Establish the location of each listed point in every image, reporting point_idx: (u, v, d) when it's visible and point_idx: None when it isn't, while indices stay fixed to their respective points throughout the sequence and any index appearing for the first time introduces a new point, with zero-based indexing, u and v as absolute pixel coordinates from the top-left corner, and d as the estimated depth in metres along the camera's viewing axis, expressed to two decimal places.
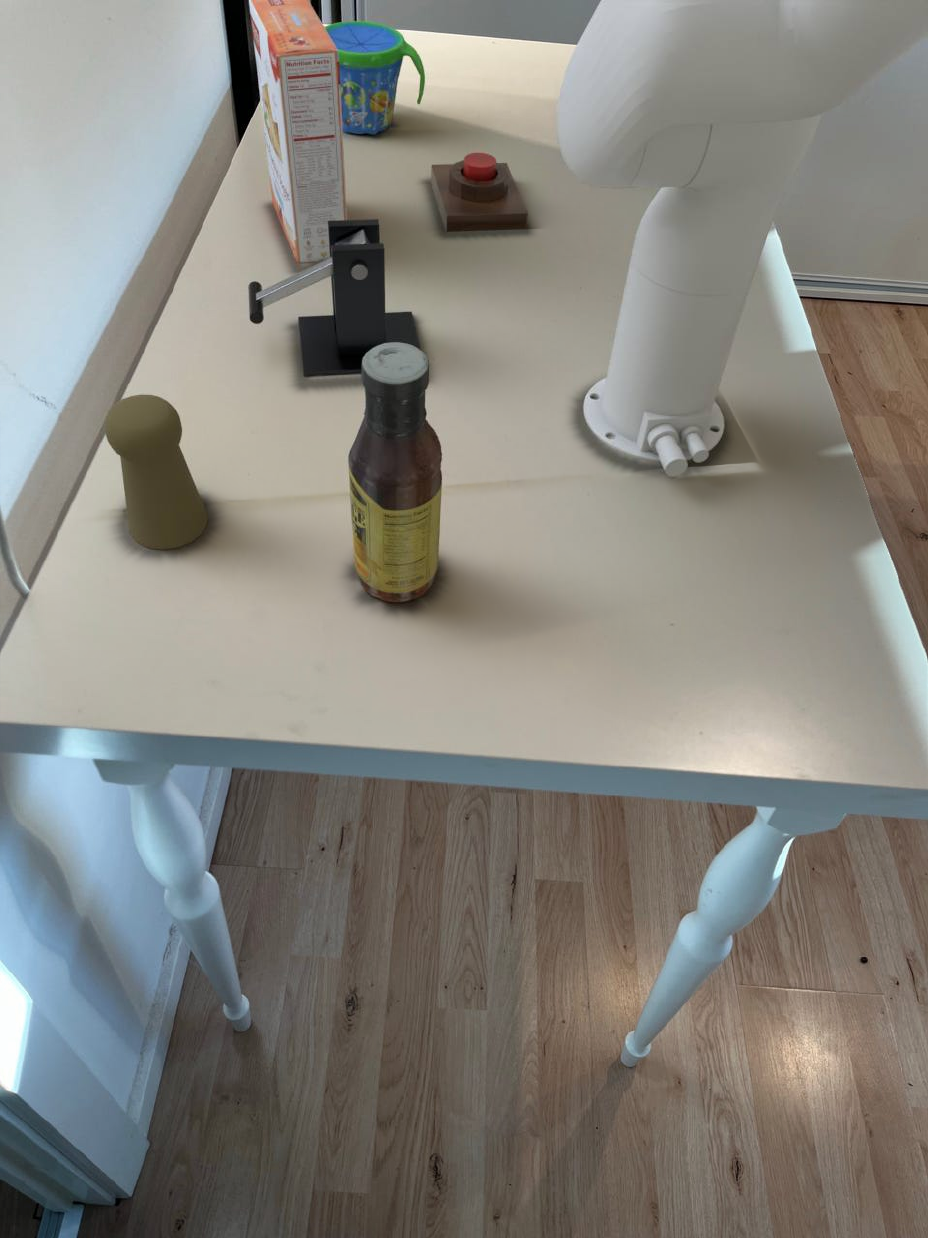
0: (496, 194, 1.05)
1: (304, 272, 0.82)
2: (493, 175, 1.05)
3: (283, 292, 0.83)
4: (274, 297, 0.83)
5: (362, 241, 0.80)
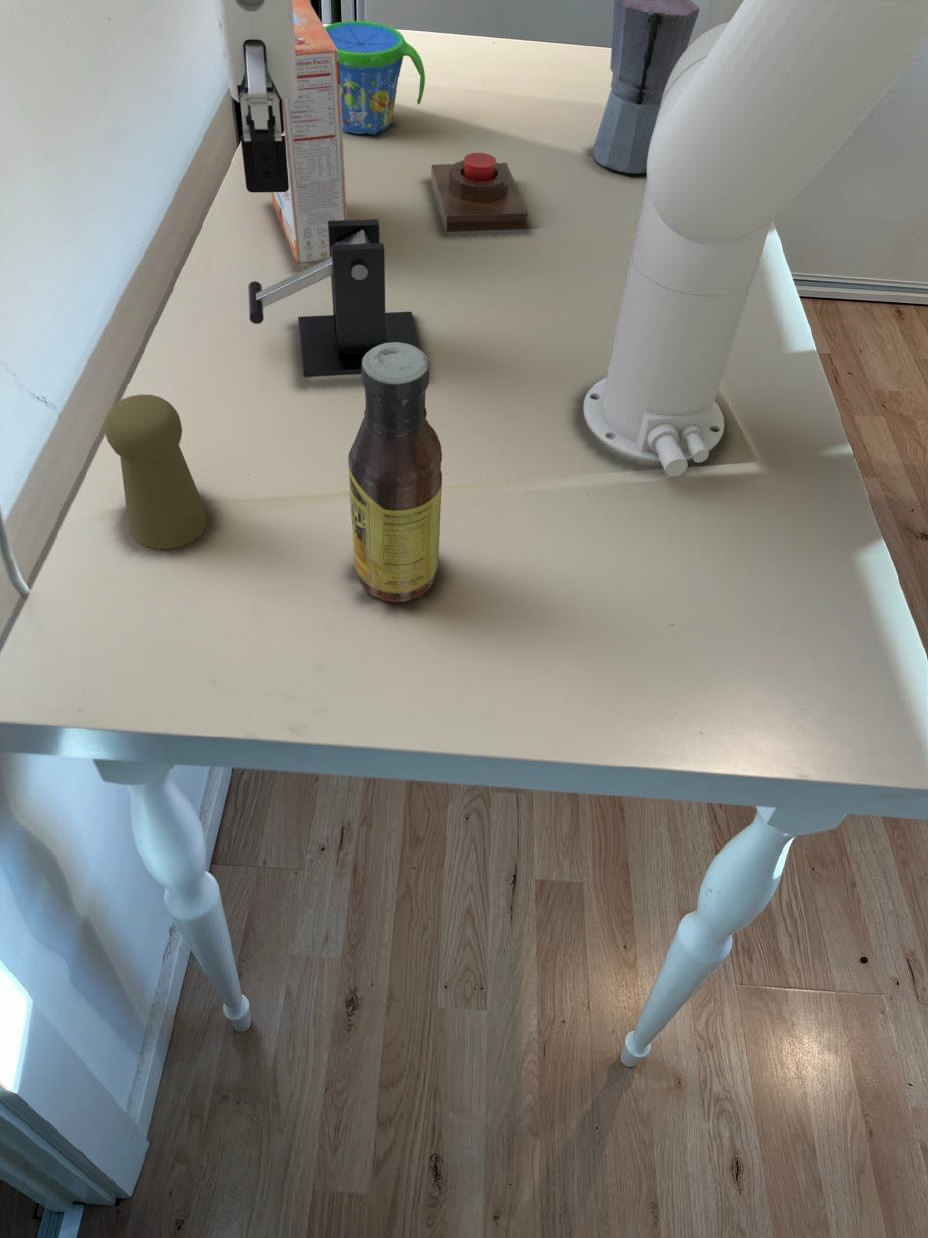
0: (496, 194, 1.05)
1: (304, 272, 0.82)
2: (493, 175, 1.05)
3: (283, 292, 0.83)
4: (274, 297, 0.83)
5: (362, 241, 0.80)
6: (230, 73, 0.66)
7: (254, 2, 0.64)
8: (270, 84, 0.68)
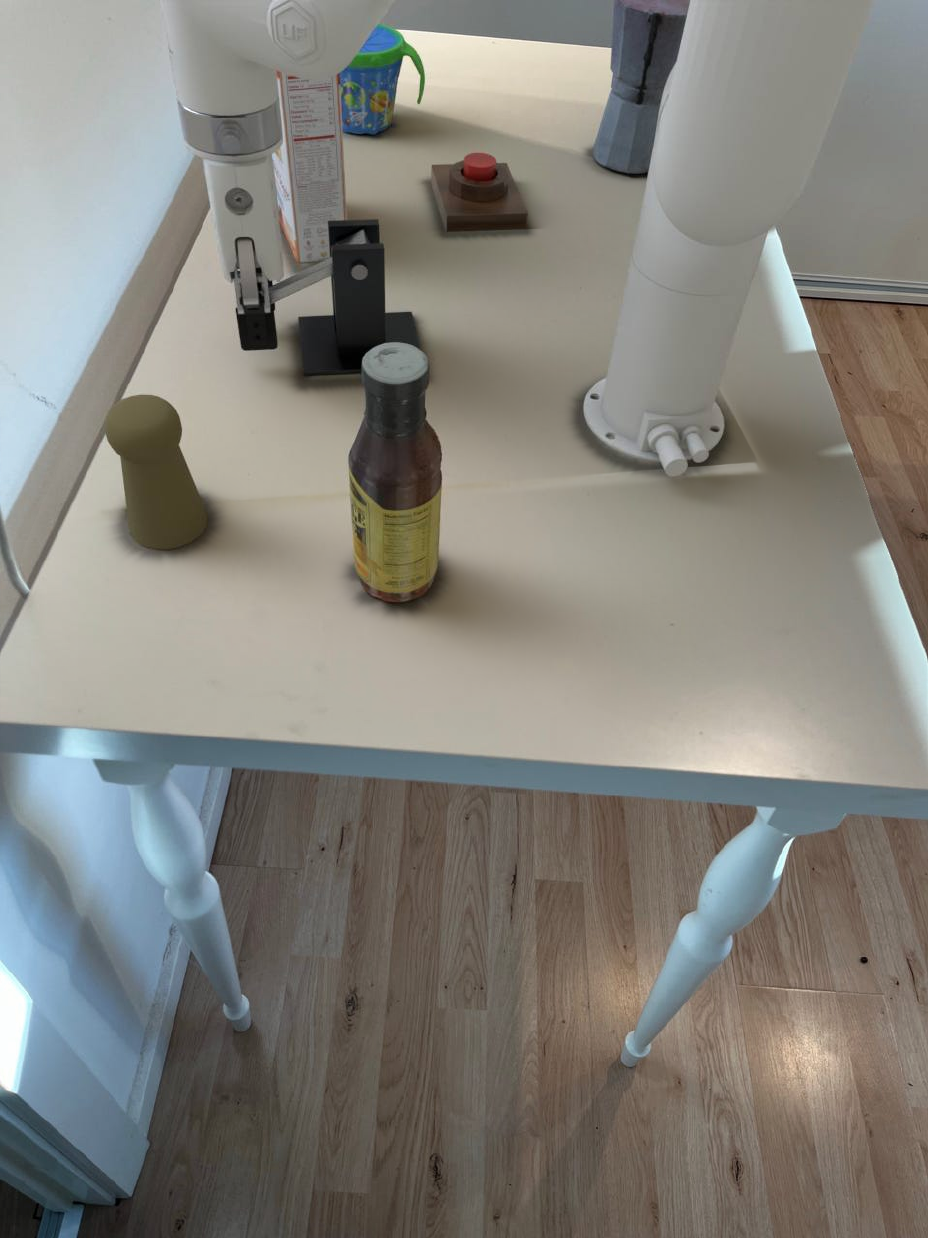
0: (496, 194, 1.05)
1: (304, 272, 0.82)
2: (493, 175, 1.05)
3: (283, 292, 0.83)
4: (274, 297, 0.83)
5: (362, 241, 0.80)
6: (224, 263, 0.75)
7: (243, 206, 0.73)
8: (259, 266, 0.78)
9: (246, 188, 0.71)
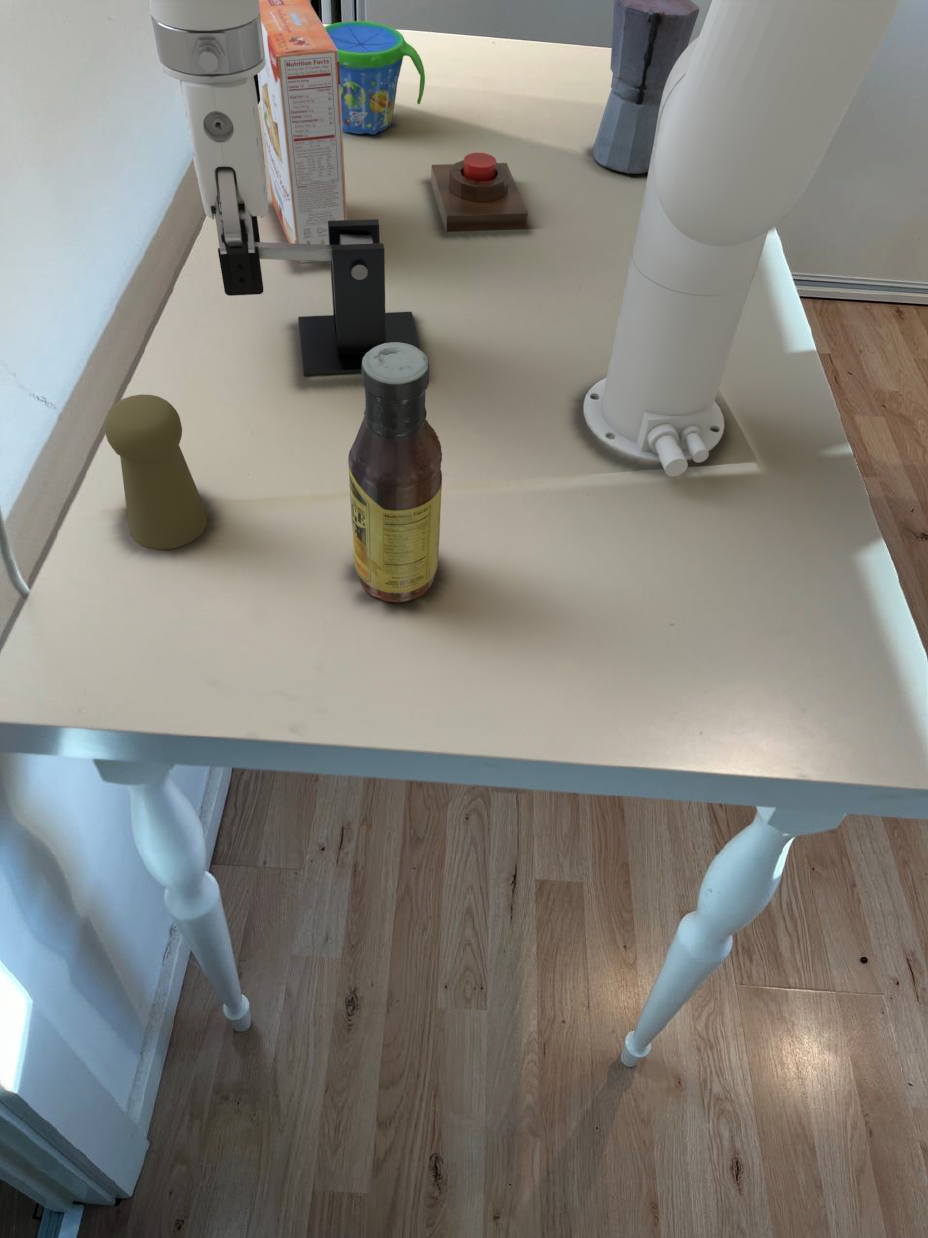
0: (496, 194, 1.05)
1: (300, 246, 0.80)
2: (493, 175, 1.05)
3: (271, 254, 0.80)
4: (260, 254, 0.80)
5: None
6: (204, 196, 0.71)
7: (224, 133, 0.69)
8: (242, 201, 0.73)
9: (226, 112, 0.67)
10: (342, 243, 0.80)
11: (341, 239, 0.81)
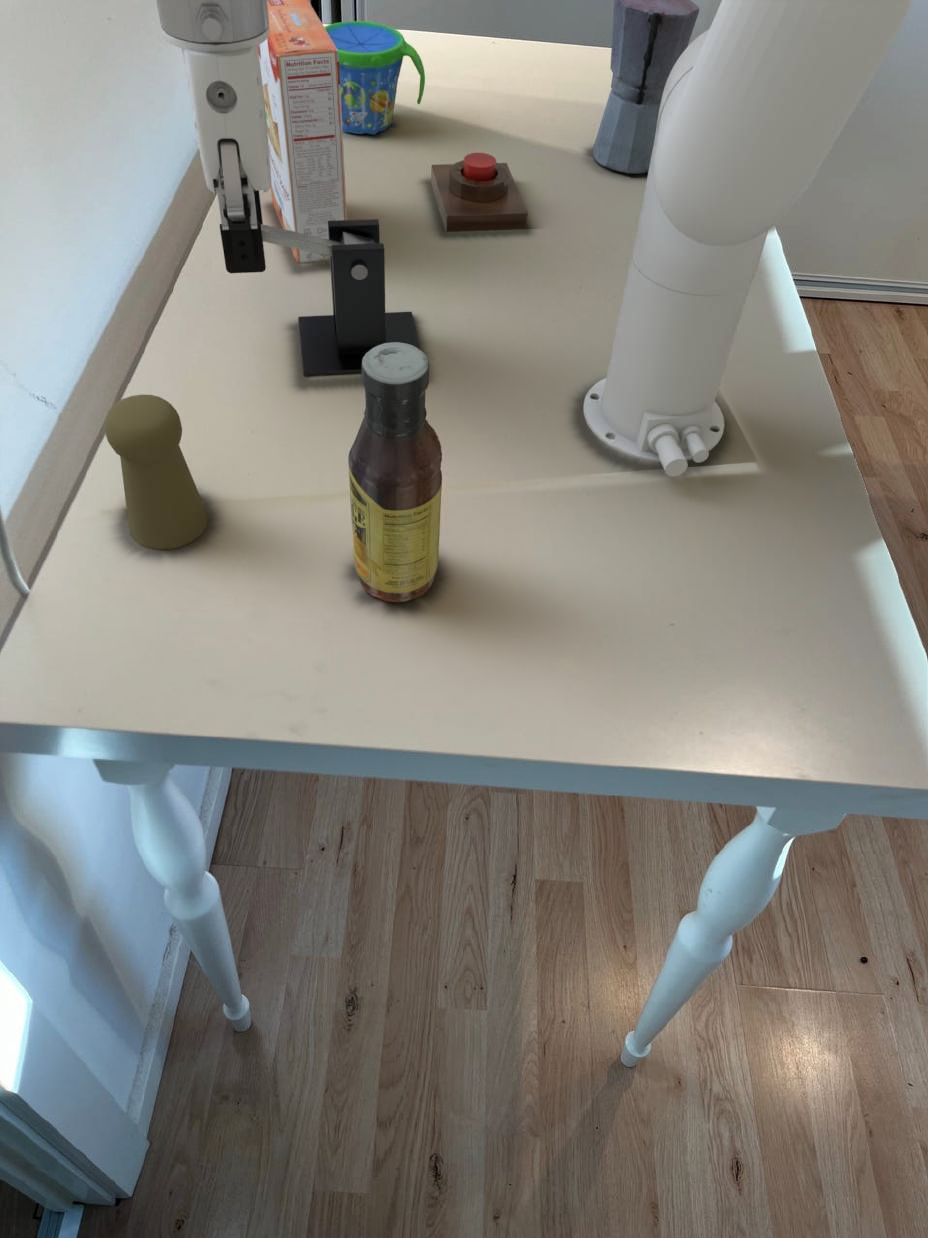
0: (496, 194, 1.05)
1: (302, 235, 0.80)
2: (493, 175, 1.05)
3: (273, 238, 0.79)
4: None
5: None
6: (206, 169, 0.69)
7: (227, 104, 0.67)
8: (244, 175, 0.72)
9: (229, 81, 0.65)
10: (345, 241, 0.80)
11: (344, 237, 0.80)
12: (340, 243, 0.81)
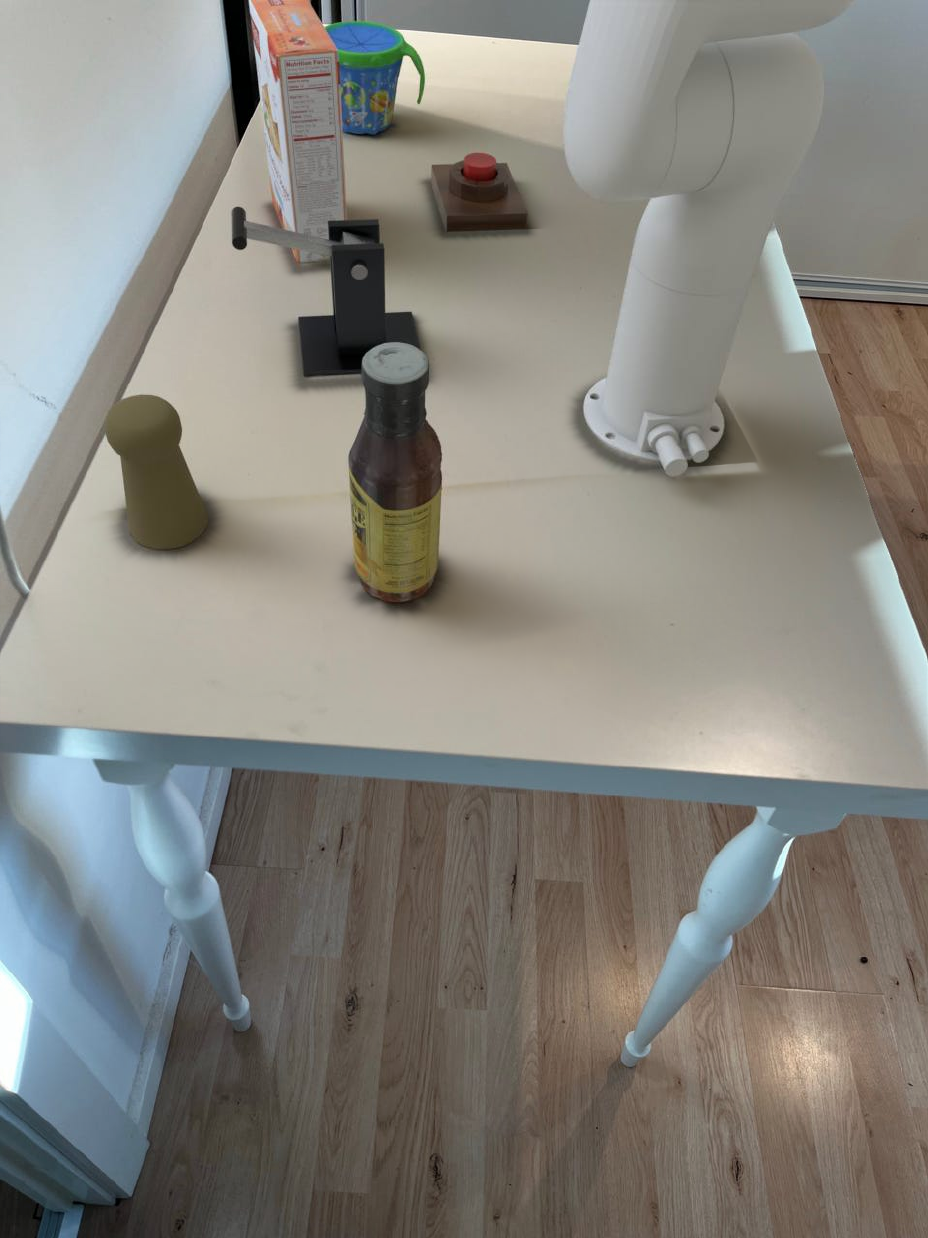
0: (496, 194, 1.05)
1: (302, 235, 0.80)
2: (493, 175, 1.05)
3: (272, 238, 0.79)
4: (261, 236, 0.78)
5: None
6: None
7: None
8: None
9: None
10: (345, 241, 0.80)
11: (344, 237, 0.80)
12: (340, 243, 0.81)
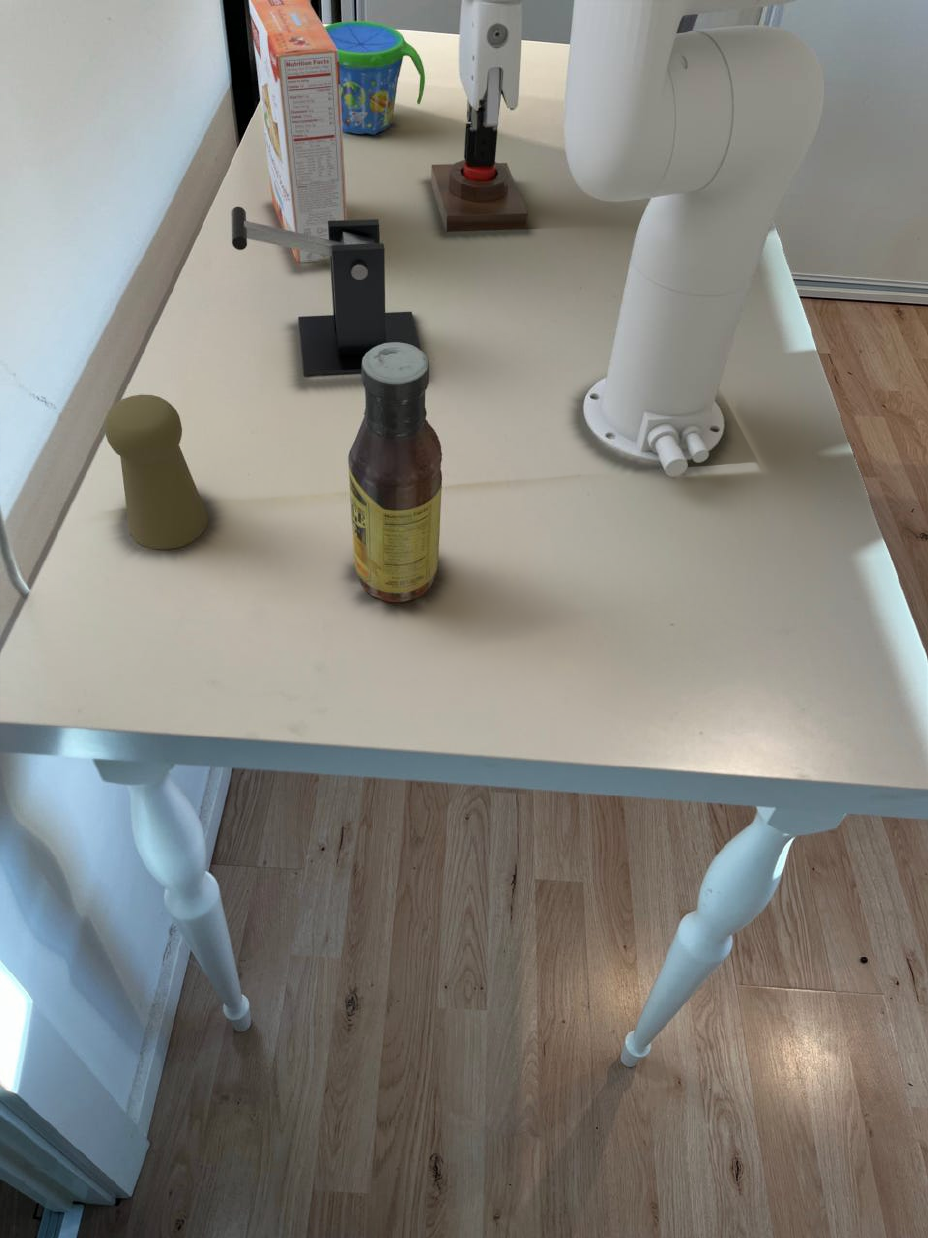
0: (496, 194, 1.05)
1: (302, 235, 0.80)
2: None
3: (272, 238, 0.79)
4: (261, 236, 0.78)
5: None
6: (475, 91, 0.94)
7: (497, 41, 0.92)
8: None
9: (505, 24, 0.90)
10: (345, 241, 0.80)
11: (344, 237, 0.80)
12: (340, 243, 0.81)
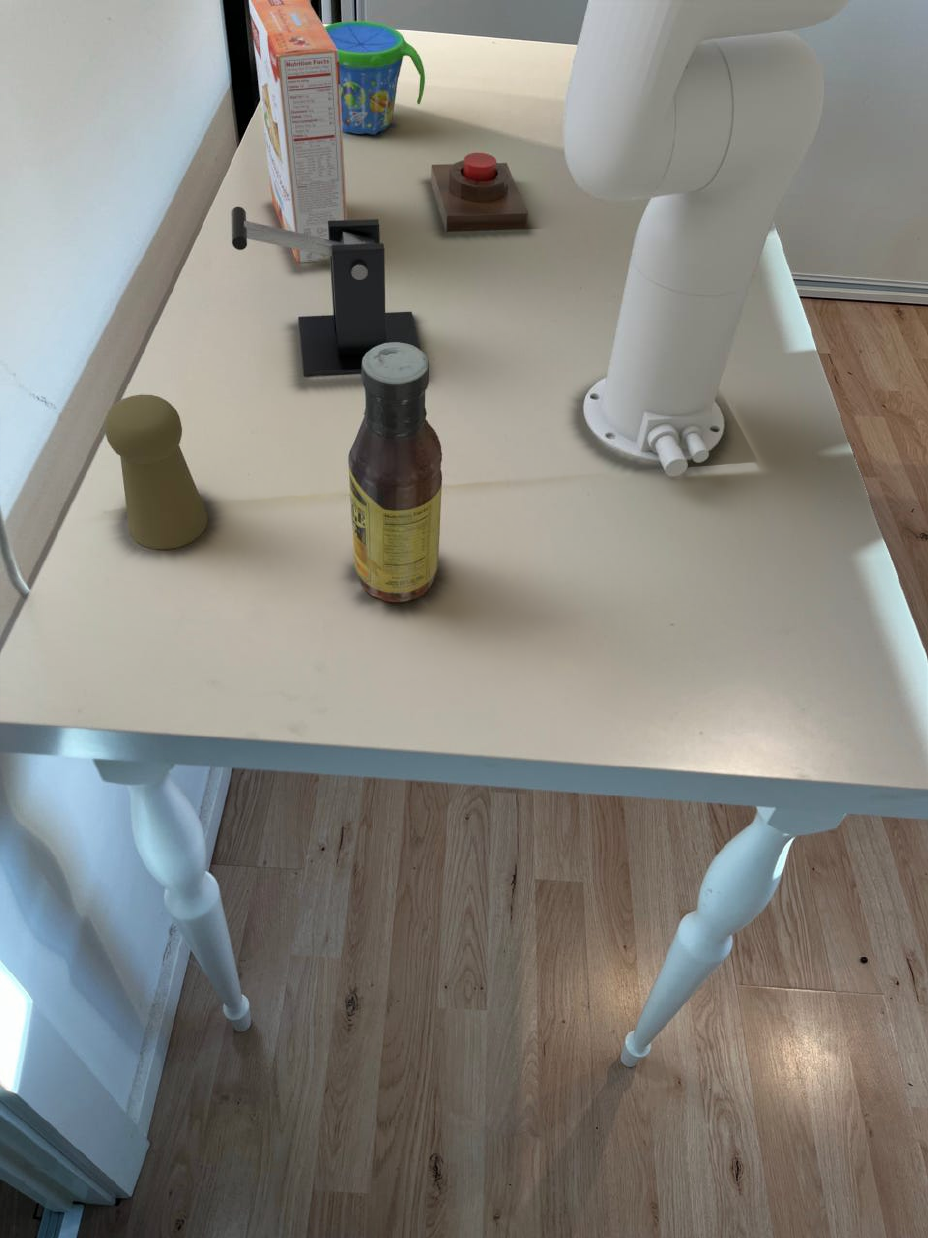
0: (496, 194, 1.05)
1: (302, 235, 0.80)
2: (493, 175, 1.05)
3: (272, 238, 0.79)
4: (261, 236, 0.78)
5: None
6: None
7: None
8: None
9: None
10: (345, 241, 0.80)
11: (344, 237, 0.80)
12: (340, 243, 0.81)
